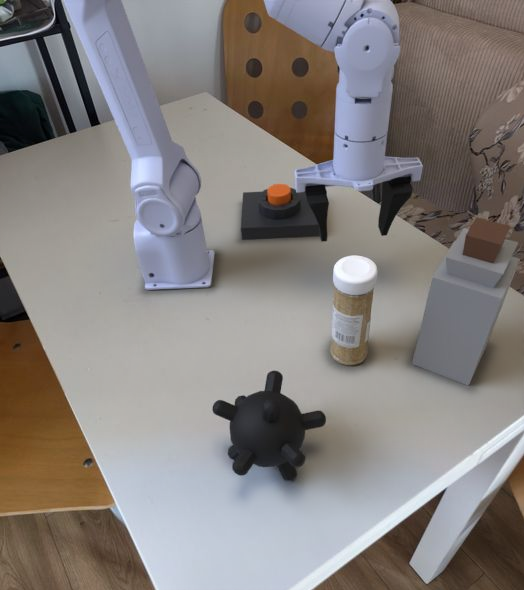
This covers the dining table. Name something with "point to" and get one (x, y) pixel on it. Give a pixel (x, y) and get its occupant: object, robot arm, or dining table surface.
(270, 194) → the button
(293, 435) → the toy ball
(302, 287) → the dining table surface
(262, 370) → the dining table surface
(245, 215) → the control block
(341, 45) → the robot arm
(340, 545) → the dining table surface
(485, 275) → the perfume bottle
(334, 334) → the spice jar
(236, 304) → the dining table surface
